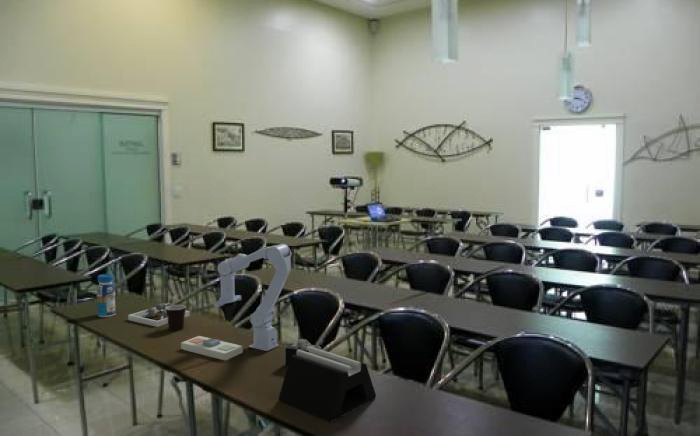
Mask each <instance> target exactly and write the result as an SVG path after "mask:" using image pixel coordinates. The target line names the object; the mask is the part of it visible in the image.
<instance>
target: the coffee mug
mask: <svg viewBox="0 0 700 436" xmlns="http://www.w3.org/2000/svg"><path fill="white" fill-rule="evenodd" d="M186 308H187V307H186V305H184V304H174V305H167V306H166V313H167V317H166V318H167V319H168V323H167V324H168V330H169V331H170V332H178V331H182V330H184V329H185V328H184V327H185V310H186ZM183 328H184V329H183Z"/></svg>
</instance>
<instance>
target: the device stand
mask: <svg viewBox="0 0 700 436" xmlns="http://www.w3.org/2000/svg"><path fill="white" fill-rule="evenodd" d="M306 350H309V353H308V352H305V351H302V350H297V355H292V356H291V358H290V361H289V364H288V367H286V371H285V375H284V377H283V381H282V385H281V389H280V392H279V396H278V401H279V402H281V401H282V403H284V404H286V405H288V404H289V406H291V407H293V408H295V407H296V409H298V410H300V409H301V411H303V412H306V413H307V412H308V413H307V414H310V415H312V414H313V415H312V416H314V415H315V416H314V417H317V418H319V417H320V419H321V418H322V420H324V419H325V420H324V421H326V420H327V422H328V421H329V423H332V422H331V421H333V420H334V421H336V420H338V419H340V418H342V417H343V416H342V415H344V414H345V415H347V414H349V413H350V411H351V412H353V411H354V410H353V409H355V408H357V407H358V406H360V405H362V404H364V403H366V402H368V401H369V402H371V401H373V400H374V399H373V398H375V397H376V398H377V394H376V391H375V388H374V385H373V382H372V379H371V375H370V371H369V369H368V366H367V363H364V362H361V361H357V360H355V359H351V358H348V357H344V356H342V355H338V354H335V353H333V352H329V351H325V350H323V349H322V350H320V349H317V348H313V347H310V346H307V347H306ZM376 398H375V399H376ZM372 399H373V400H372ZM370 400H371V401H370ZM369 402H368V403H369ZM366 404H367V403H366ZM364 405H365V404H364ZM362 406H363V405H362ZM360 407H361V406H360ZM358 408H359V407H358ZM358 408H357V409H358ZM352 410H353V411H352ZM355 410H356V409H355ZM348 412H349V413H348ZM346 413H347V414H346ZM345 415H344V416H345ZM341 416H342V417H341ZM339 417H340V418H339ZM337 418H338V419H337ZM335 419H336V420H335ZM334 421H333V422H334Z"/></svg>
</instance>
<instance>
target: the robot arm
mask: <svg viewBox="0 0 700 436" xmlns="http://www.w3.org/2000/svg"><path fill="white" fill-rule="evenodd" d="M292 255H293V253H292V251H291V249H290V247H289V246H288V244H286V243H279V244H276V245H272V246H268V247H267V246H266V247H263V248H261V249H258V250H256V251H254V252H252V253H250V254H245V253H241V252H240V253H238V254H236V256H235V257H229V258H227V260H224V261H221V262H220V263H218V265H217V271H218V274H219V275H220V297H219V299H218V300H216V301H214V302H213V308H217V309H218V308H220V310H221V311H222V313H223V316H224V320H225V321H228V322H229V321H232V317H233V313H234V311H235V308H236V306H237V303H236V302H237V301H241V300H242V295H240V294H239V295H237V294H235V293H236V292H235V290H236V289H235V285H236V284H235V274H236V272H238V271H241V270H243V269H246V268H248V267H250V264H251V263H253V262H255V261H257V260H260V259H262V258H263V259H264V260H268V262H269V263H270V264H271V265H272V267H273V268H274V269H275V273H274V275H273V278H272V279H271V282H270V284H269V286H268V288H267V290H266V293H265V294H264V297H263V299H262V300H261V303H260V304H259V305H258V307H257V308H256V310H255V311H254V312H253V313H251V315H250V318H249V322H250V323H251V325H252V327H253V344H250V345H248V347H249V348H251V349H257V350H259V351H260V350H261V351H266V352H268V351H270V350H273V349H275V348H277V347H279V344H278V329H276V327H273V326H272V320H273V319H274V317H275V311H276V308H275V305H276V302H277V300H278V298H279V296H280V294H281V292H282V290H283V288H284V286H285V284H286V281H287V279H288V278H289V275H290V273H291V271H292V268H291V267H292V266H291V265H292V264H291V260H292V259H291V257H292Z"/></svg>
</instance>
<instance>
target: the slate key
mask: <svg viewBox="0 0 700 436" xmlns="http://www.w3.org/2000/svg"><path fill="white" fill-rule="evenodd" d="M210 338H211V337H210ZM220 341H221V340H220V339H215V338H211V339H208V340H206V341H203V345H204V346H208V347H214V346H216V345H219V344H220Z"/></svg>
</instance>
